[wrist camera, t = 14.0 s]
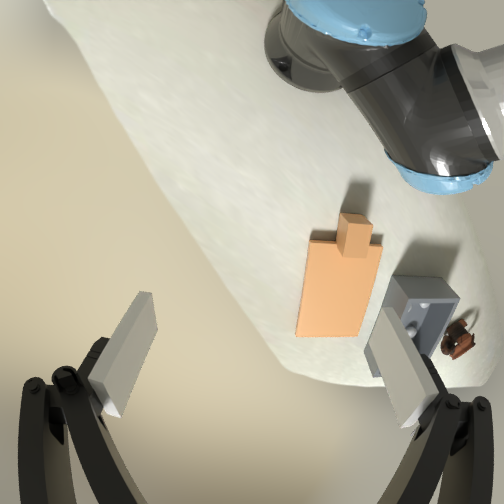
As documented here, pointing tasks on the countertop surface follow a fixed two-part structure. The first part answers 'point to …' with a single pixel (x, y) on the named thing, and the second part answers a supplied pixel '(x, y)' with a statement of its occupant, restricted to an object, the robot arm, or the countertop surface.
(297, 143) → the countertop surface
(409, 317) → the tub
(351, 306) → the lid
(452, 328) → the brown jagged ring
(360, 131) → the countertop surface
